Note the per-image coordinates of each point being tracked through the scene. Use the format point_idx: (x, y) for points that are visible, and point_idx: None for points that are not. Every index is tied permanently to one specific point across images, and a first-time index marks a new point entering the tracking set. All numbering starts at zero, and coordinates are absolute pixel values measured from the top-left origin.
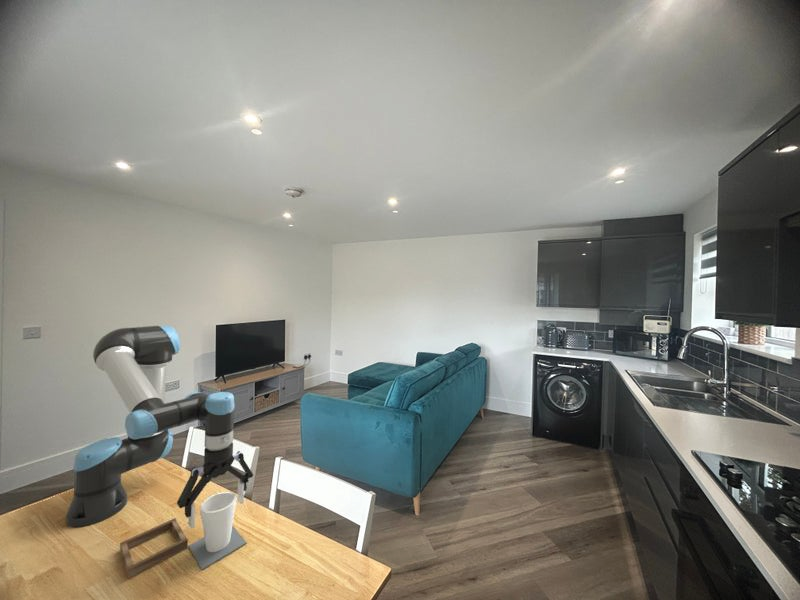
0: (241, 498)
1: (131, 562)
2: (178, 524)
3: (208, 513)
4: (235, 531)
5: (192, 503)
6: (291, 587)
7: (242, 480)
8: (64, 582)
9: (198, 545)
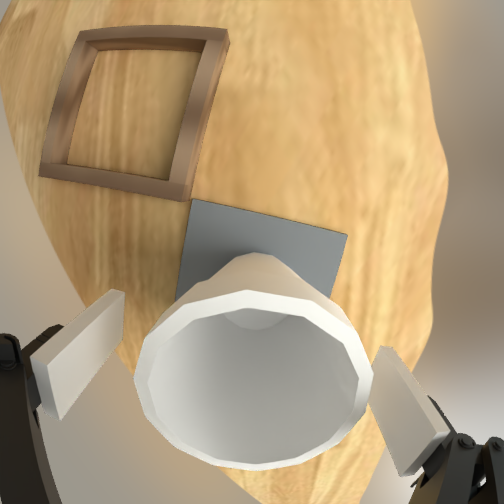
0: (372, 407)
1: (49, 149)
2: (210, 76)
3: (156, 424)
4: (325, 294)
5: (38, 423)
6: (261, 492)
7: (415, 492)
8: (15, 69)
9: (212, 233)
